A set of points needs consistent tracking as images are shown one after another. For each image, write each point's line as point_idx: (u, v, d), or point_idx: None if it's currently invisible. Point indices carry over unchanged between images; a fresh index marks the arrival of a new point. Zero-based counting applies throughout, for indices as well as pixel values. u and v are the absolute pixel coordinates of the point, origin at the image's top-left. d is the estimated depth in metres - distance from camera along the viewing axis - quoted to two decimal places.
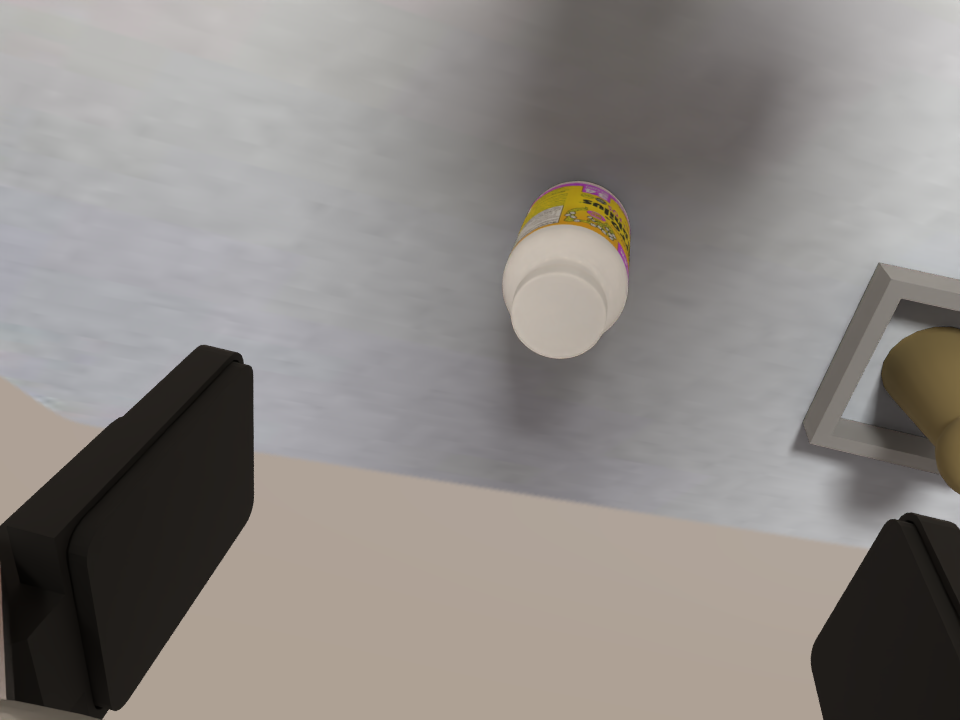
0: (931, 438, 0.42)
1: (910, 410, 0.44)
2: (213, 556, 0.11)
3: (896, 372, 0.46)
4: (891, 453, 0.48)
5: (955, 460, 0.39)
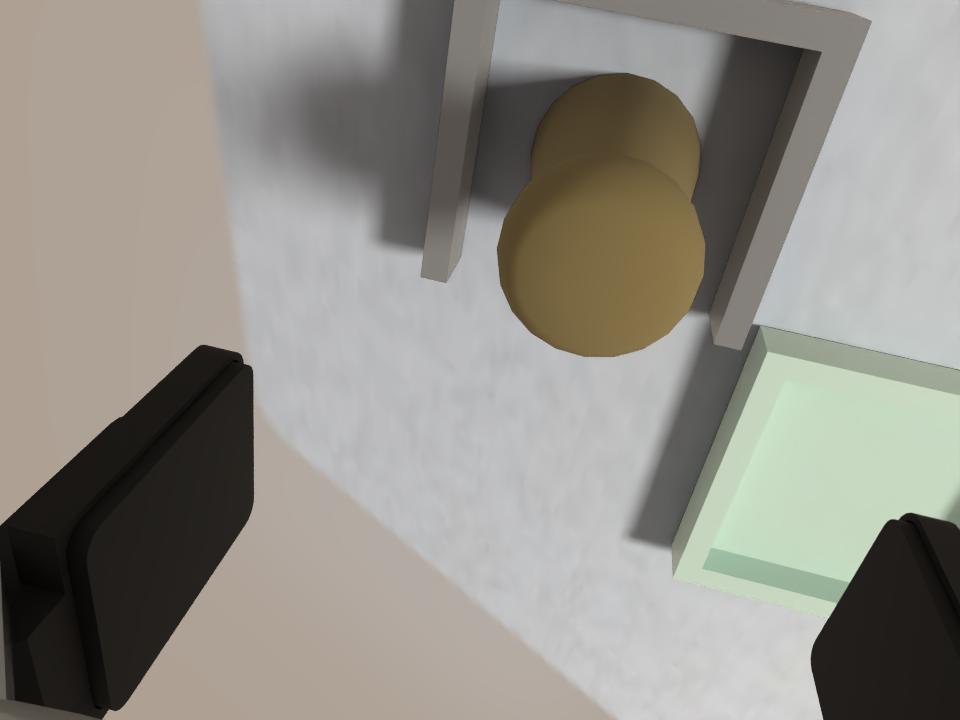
0: (575, 154, 0.20)
1: (589, 118, 0.22)
2: (213, 556, 0.11)
3: (631, 90, 0.24)
4: (461, 117, 0.25)
5: (615, 183, 0.17)
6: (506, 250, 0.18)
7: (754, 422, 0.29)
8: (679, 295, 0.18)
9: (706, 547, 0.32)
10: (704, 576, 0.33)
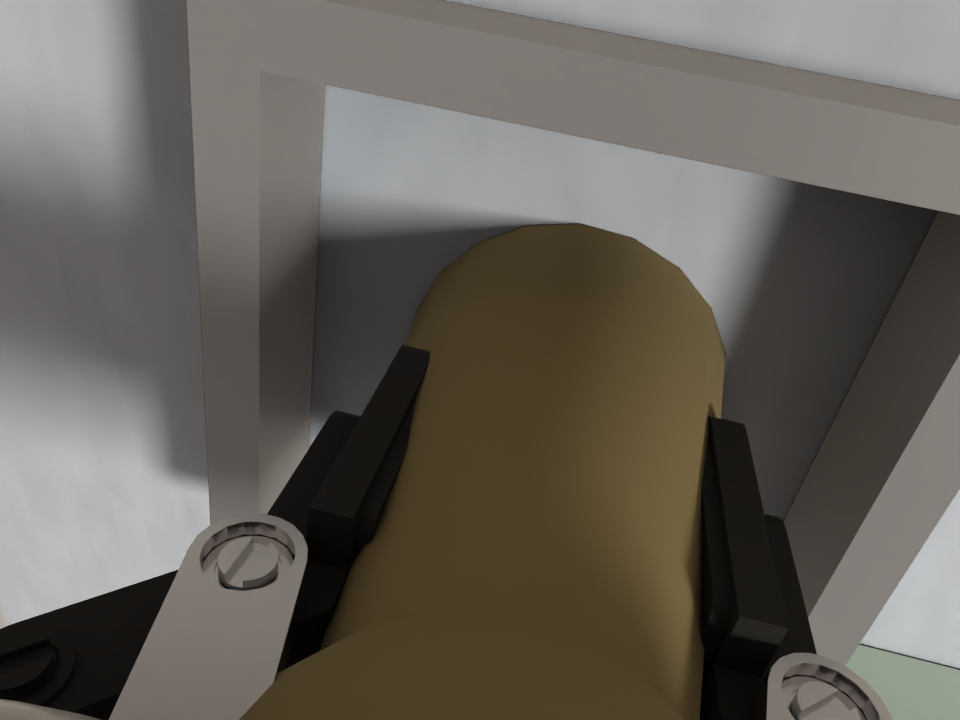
0: (424, 530, 0.08)
1: (483, 373, 0.10)
2: None
3: (586, 276, 0.11)
4: (241, 323, 0.12)
5: None
6: None
7: None
8: None
9: None
10: None
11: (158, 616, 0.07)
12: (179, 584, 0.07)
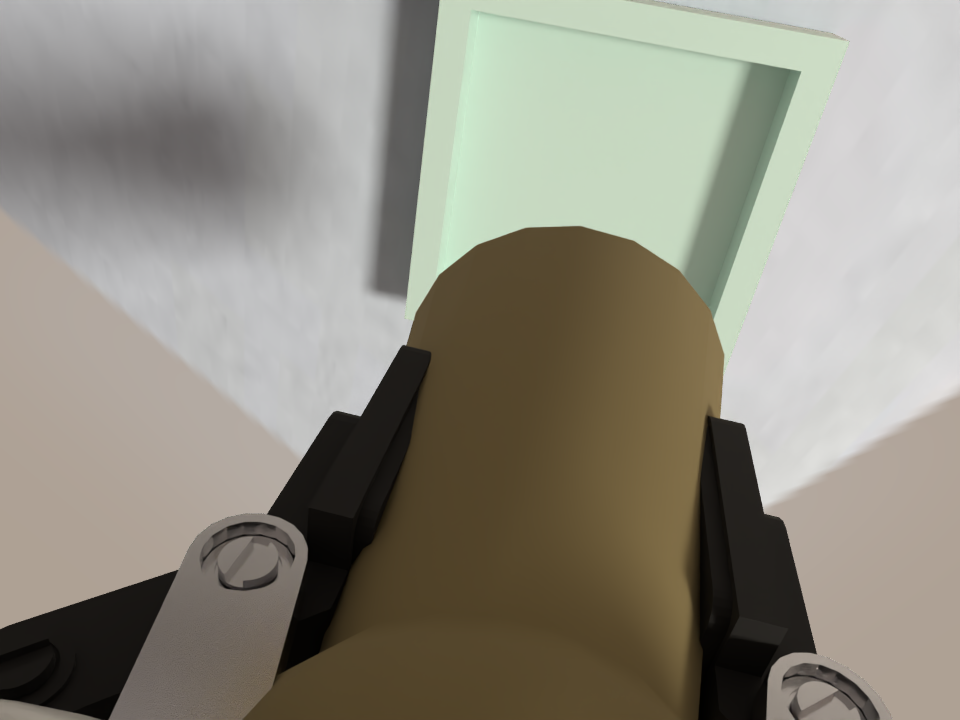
0: (423, 532, 0.08)
1: (482, 375, 0.10)
2: None
3: (585, 278, 0.11)
4: None
5: None
6: None
7: (449, 77, 0.24)
8: None
9: (432, 269, 0.27)
10: None
11: (158, 616, 0.07)
12: (179, 584, 0.07)
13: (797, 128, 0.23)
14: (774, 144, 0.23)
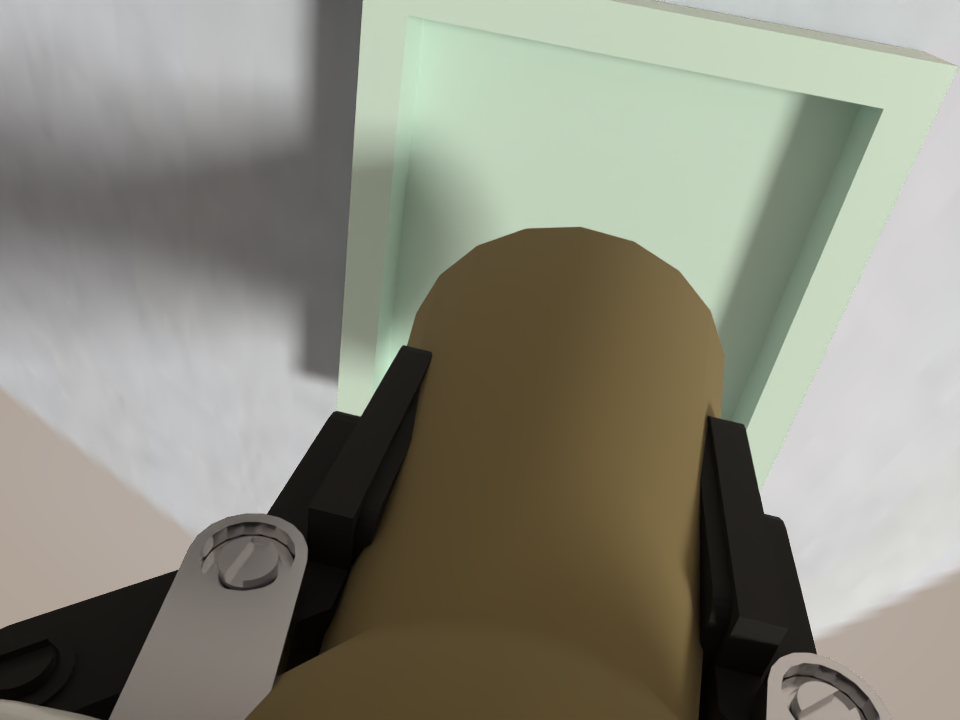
0: (423, 533, 0.08)
1: (483, 376, 0.10)
2: None
3: (585, 279, 0.11)
4: None
5: None
6: None
7: (380, 109, 0.17)
8: None
9: (368, 359, 0.20)
10: None
11: (158, 616, 0.07)
12: (179, 584, 0.07)
13: (873, 188, 0.16)
14: (838, 209, 0.16)
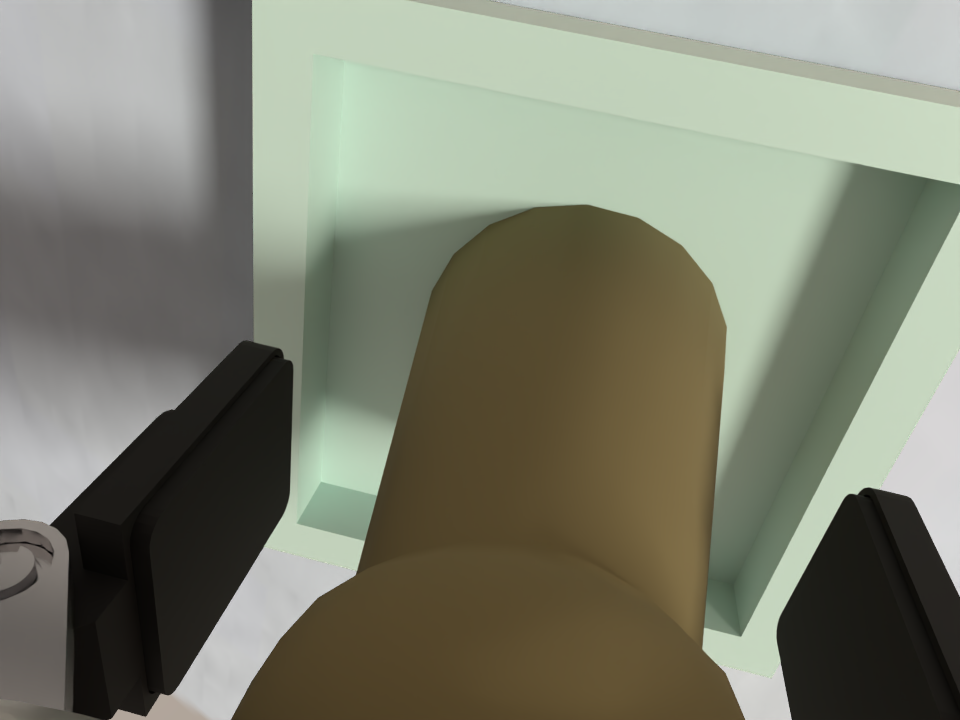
0: (446, 475, 0.08)
1: (498, 339, 0.10)
2: (254, 547, 0.11)
3: (592, 252, 0.12)
4: None
5: None
6: None
7: (284, 177, 0.13)
8: None
9: None
10: (306, 539, 0.17)
11: None
12: None
13: (952, 291, 0.12)
14: (901, 315, 0.12)
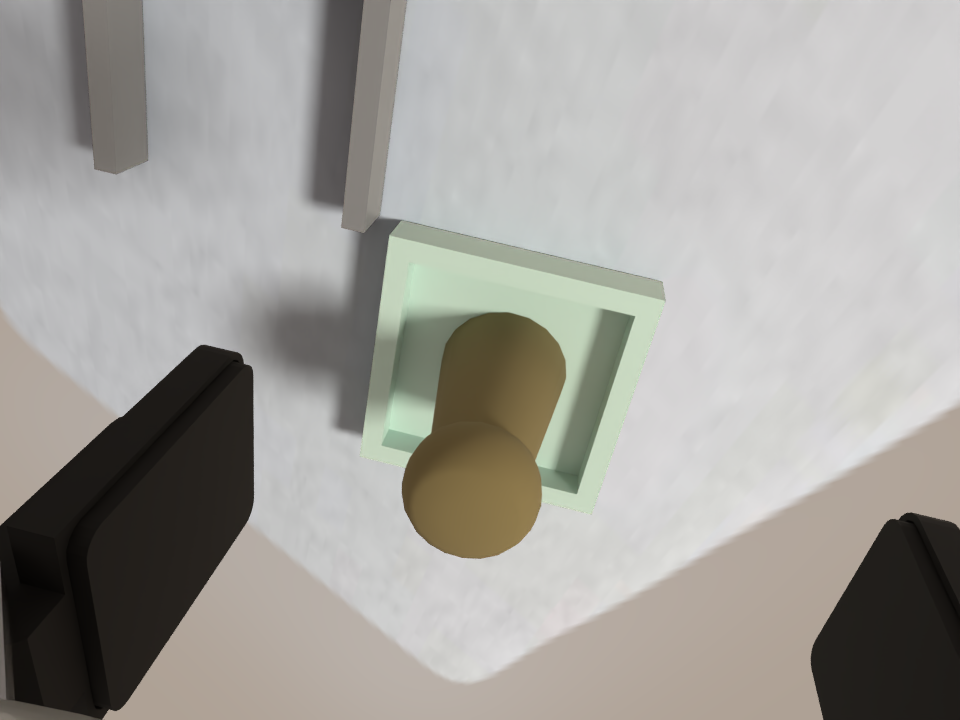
0: (459, 407, 0.29)
1: (474, 366, 0.31)
2: (213, 556, 0.11)
3: (509, 333, 0.33)
4: (100, 21, 0.29)
5: (475, 458, 0.26)
6: (406, 492, 0.27)
7: (393, 302, 0.33)
8: (521, 525, 0.26)
9: (380, 424, 0.36)
10: (384, 453, 0.37)
11: None
12: None
13: (635, 350, 0.32)
14: (620, 358, 0.33)
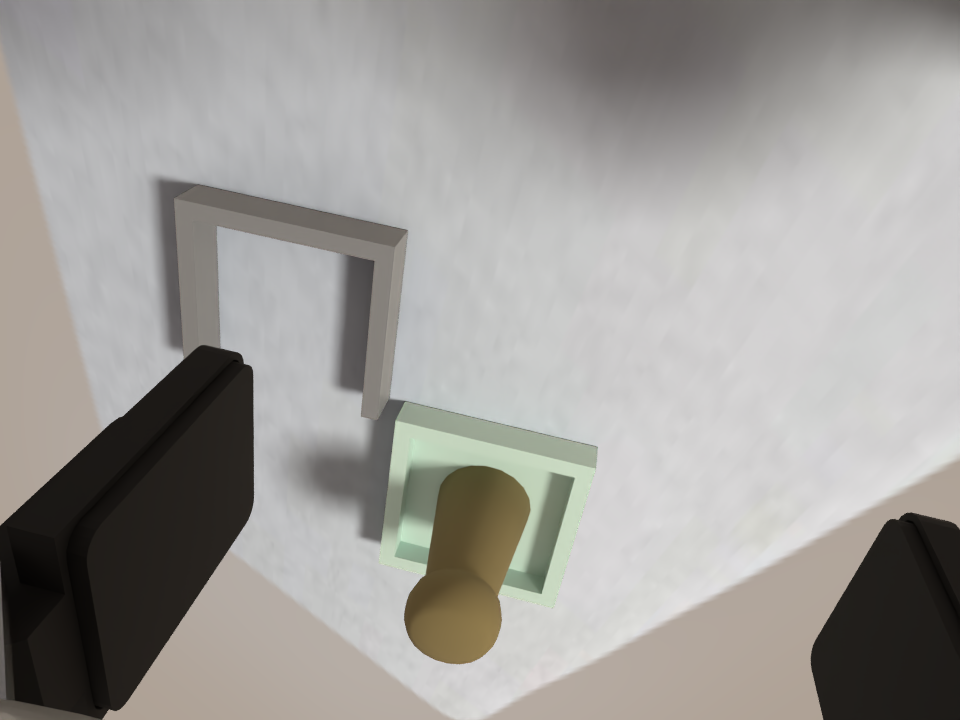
0: (445, 553, 0.41)
1: (457, 516, 0.43)
2: (213, 556, 0.11)
3: (484, 486, 0.45)
4: (191, 286, 0.41)
5: (451, 602, 0.38)
6: (406, 621, 0.39)
7: (399, 462, 0.45)
8: (485, 645, 0.38)
9: (393, 542, 0.49)
10: (397, 561, 0.50)
11: None
12: None
13: (576, 499, 0.44)
14: (567, 504, 0.45)
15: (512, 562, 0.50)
